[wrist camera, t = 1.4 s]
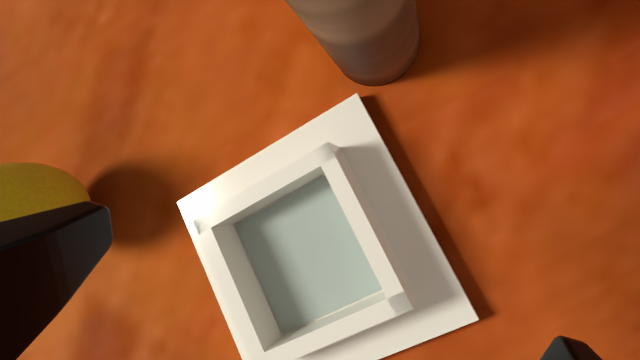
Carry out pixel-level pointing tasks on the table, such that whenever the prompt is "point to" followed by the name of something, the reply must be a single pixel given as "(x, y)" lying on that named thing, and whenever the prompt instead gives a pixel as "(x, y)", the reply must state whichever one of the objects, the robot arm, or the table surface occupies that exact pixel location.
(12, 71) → the table surface
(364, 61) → the pepper mill
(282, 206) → the mill stand
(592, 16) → the table surface
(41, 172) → the lemon
